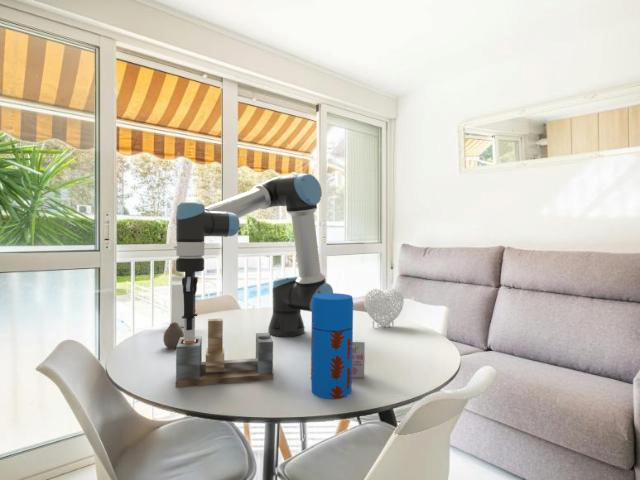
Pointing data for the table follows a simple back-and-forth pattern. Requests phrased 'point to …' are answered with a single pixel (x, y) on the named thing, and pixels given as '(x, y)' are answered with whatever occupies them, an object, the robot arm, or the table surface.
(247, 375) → the rail track
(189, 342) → the button
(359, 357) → the white printed box
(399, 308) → the decorative heart
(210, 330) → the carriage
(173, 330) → the vase
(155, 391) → the table surface
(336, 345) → the thermos
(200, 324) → the table surface
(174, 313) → the milk
